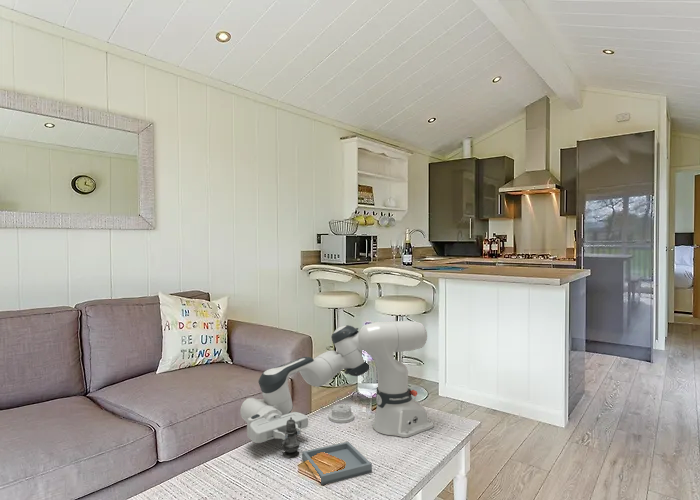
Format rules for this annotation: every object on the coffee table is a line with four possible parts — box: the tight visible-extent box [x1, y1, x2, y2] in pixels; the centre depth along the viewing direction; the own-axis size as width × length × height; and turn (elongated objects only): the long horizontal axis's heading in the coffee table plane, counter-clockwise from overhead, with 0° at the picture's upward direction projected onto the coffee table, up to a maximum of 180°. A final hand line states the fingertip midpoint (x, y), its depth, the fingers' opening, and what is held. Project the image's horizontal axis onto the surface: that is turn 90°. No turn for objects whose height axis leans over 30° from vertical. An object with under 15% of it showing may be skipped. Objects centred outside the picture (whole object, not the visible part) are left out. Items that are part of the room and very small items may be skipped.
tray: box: [301, 441, 373, 486], centre depth 135 cm, size 16×16×2 cm
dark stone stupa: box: [281, 417, 301, 459], centre depth 142 cm, size 6×6×12 cm
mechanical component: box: [328, 403, 355, 424], centre depth 171 cm, size 10×4×10 cm
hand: (292, 434), depth 141 cm, fingers closed on dark stone stupa, 4 cm apart
